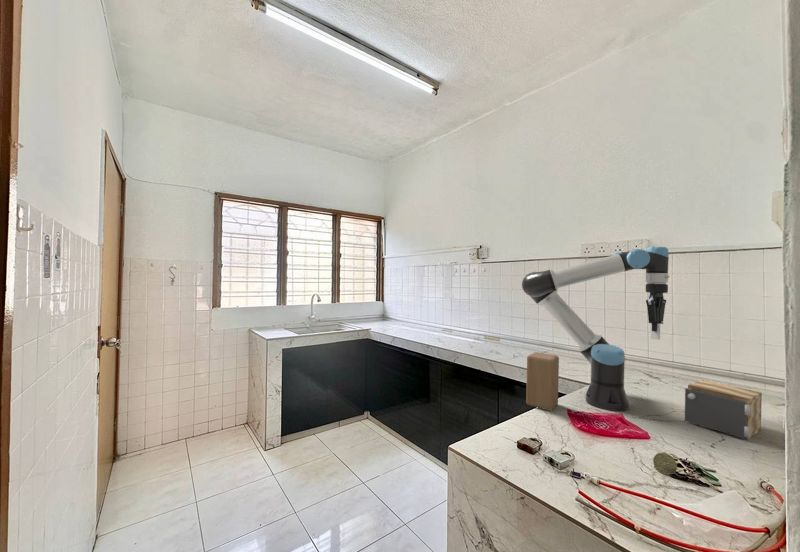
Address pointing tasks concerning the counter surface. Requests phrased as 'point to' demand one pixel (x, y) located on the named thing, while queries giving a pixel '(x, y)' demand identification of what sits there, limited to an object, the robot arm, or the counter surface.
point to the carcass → (738, 394)
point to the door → (717, 412)
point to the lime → (665, 463)
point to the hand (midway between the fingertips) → (655, 338)
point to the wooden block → (542, 380)
